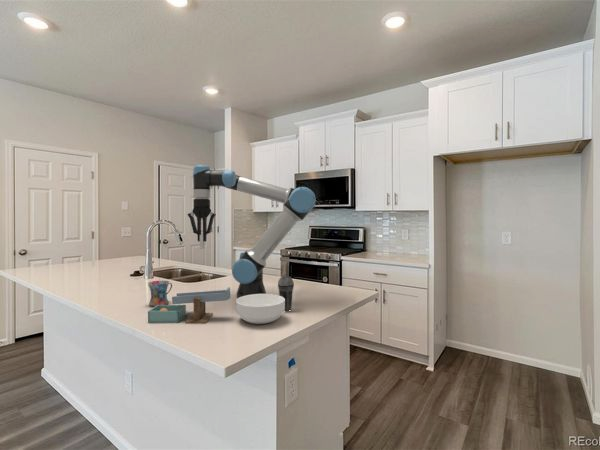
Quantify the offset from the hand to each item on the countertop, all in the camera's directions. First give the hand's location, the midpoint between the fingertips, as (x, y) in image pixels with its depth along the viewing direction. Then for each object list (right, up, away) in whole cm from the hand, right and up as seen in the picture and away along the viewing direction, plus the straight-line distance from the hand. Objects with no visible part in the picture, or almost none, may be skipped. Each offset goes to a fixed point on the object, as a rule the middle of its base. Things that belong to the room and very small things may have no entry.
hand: (202, 248), depth 156 cm
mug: (-19, -27, -1) cm, 33 cm away
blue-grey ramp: (+7, -20, -19) cm, 28 cm away
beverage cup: (+40, -27, -10) cm, 50 cm away
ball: (-9, -25, -22) cm, 34 cm away
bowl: (+31, -28, -23) cm, 47 cm away
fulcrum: (+6, -27, -22) cm, 35 cm away
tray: (-7, -27, -22) cm, 36 cm away
